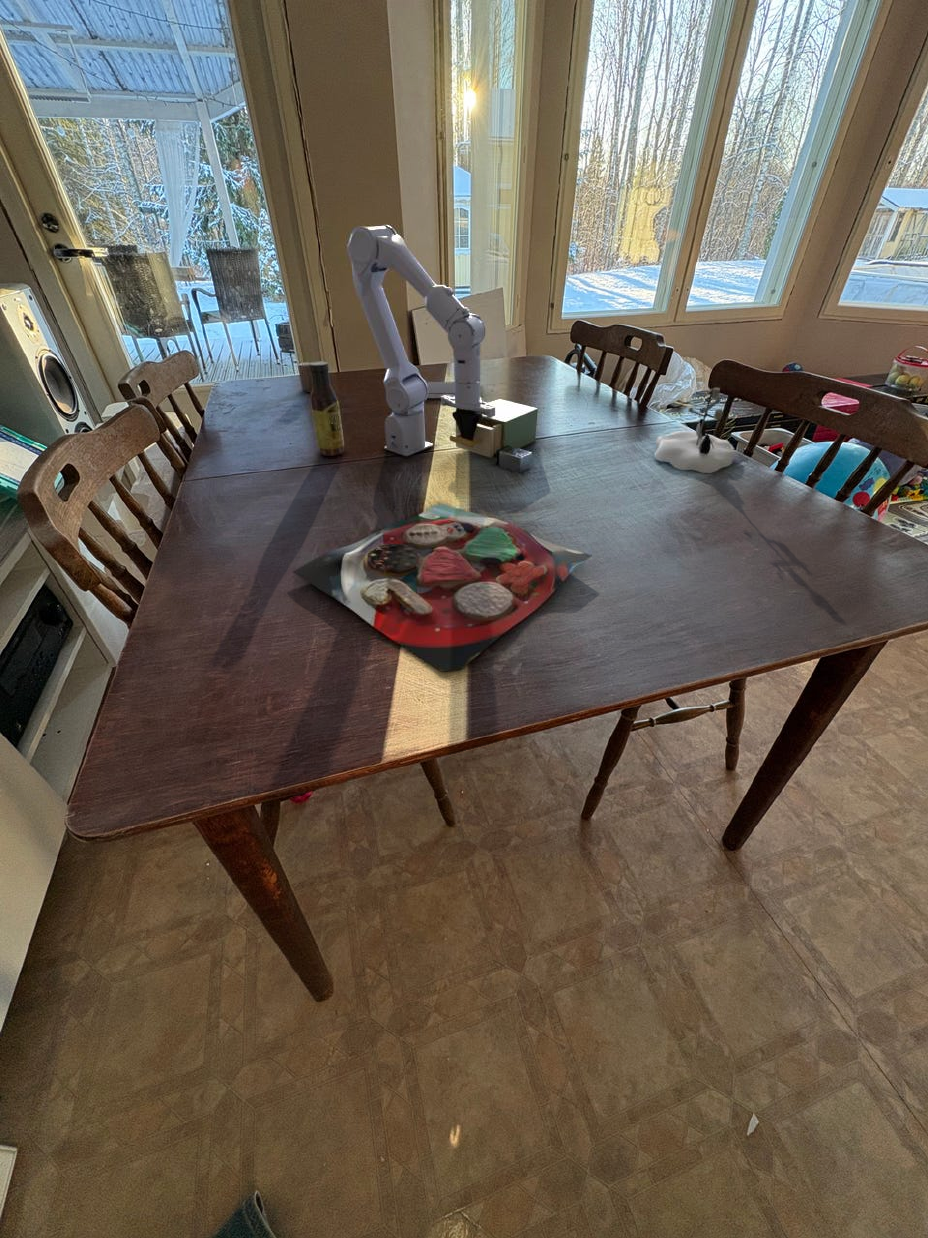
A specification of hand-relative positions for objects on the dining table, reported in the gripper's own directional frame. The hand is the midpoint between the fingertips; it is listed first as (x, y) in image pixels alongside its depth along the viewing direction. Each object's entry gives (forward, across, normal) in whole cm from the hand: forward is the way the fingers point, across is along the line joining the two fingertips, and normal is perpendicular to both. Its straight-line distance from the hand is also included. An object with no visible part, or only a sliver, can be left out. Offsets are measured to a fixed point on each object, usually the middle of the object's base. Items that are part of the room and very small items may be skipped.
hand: (467, 442), depth 119 cm
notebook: (+4, +40, -36) cm, 54 cm away
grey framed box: (+4, -11, -3) cm, 12 cm away
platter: (+4, -29, +39) cm, 49 cm away
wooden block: (+3, +75, -9) cm, 76 cm away
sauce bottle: (+3, +27, +19) cm, 33 cm away
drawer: (+3, 0, -6) cm, 6 cm away
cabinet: (+4, 0, -13) cm, 13 cm away
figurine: (+4, -40, -36) cm, 54 cm away
